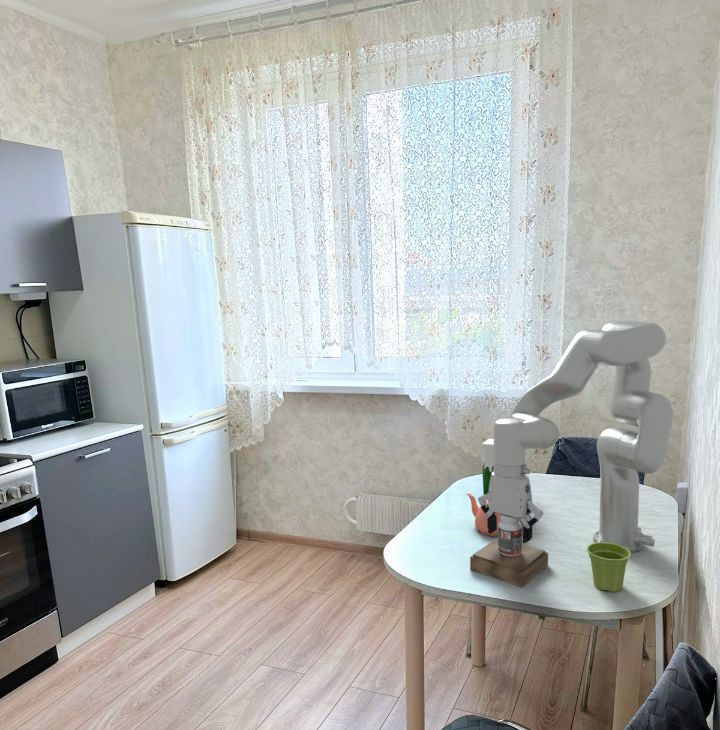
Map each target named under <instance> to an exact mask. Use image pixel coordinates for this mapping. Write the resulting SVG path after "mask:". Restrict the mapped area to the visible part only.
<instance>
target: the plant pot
mask: <svg viewBox="0 0 720 730" xmlns="http://www.w3.org/2000/svg"><path fill="white" fill-rule="evenodd" d="M586 552H587V553H588V556H589V559H590V565H591V572H592V580H593V585H594V586H595V587H596V588H597V589H599V590H602V591H608V592H609V593H614V592H620V591H621V590H622V588H623V585H624V579H625V575H626V569H627V563H629V559H630V558H631V556H632V555H631V554H632V552H630V551H629V550H628V549H627V548H625V547H623V546H620V545H617V544H613V543H606V542H598V543H595V542H592V543H590V544H589V545H587V546H586Z"/></svg>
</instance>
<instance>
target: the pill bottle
mask: <svg viewBox="0 0 720 730" xmlns="http://www.w3.org/2000/svg"><path fill="white" fill-rule="evenodd" d="M500 519H501V521H500V522H499V524H498V537H497V538H498V551H499V553H500V554H502V555H504V556H509V557H514V556H518V555H520V554H521V552H522V544H523V527H522V524H521V522H520V521H521V520H520V518H515V517H511V516H507V515H503V514H500ZM519 520H520V521H519Z"/></svg>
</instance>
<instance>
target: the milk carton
mask: <svg viewBox="0 0 720 730" xmlns="http://www.w3.org/2000/svg"><path fill="white" fill-rule="evenodd" d="M481 446H482V448H481V449H482V450H481V451H482V490H483V495H486V494H488V493H489V484H490V479H491V474H492V467H493V466H494V438H488V439H487V440H485V441H484V442H482V444H481Z"/></svg>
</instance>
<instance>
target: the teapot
mask: <svg viewBox="0 0 720 730" xmlns="http://www.w3.org/2000/svg"><path fill="white" fill-rule="evenodd" d="M465 495H467V496H468V497H469V499H470V503H471V505H470V507H471V512H472V514H473V516H474V517H475V520H474V526H475V527H476V529H477V530H478V531H479V532H480V533H481V534H483V535H486V536H489V537H496V538H498V524H499V522H500V521H501V519H500V513H495V515H496V516H497V530H496V531H494V532H493V533H491V534H490V533H488V527H487V517H486V516H485V513H484V511H483V510H482V509H481V505H480V507H479V506H478V504H477V500H476V498H475V496H474V495H473V494H471V493H466V494H465ZM486 504H488V500H486ZM520 521H521V519H520V520H519V522H520Z"/></svg>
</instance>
